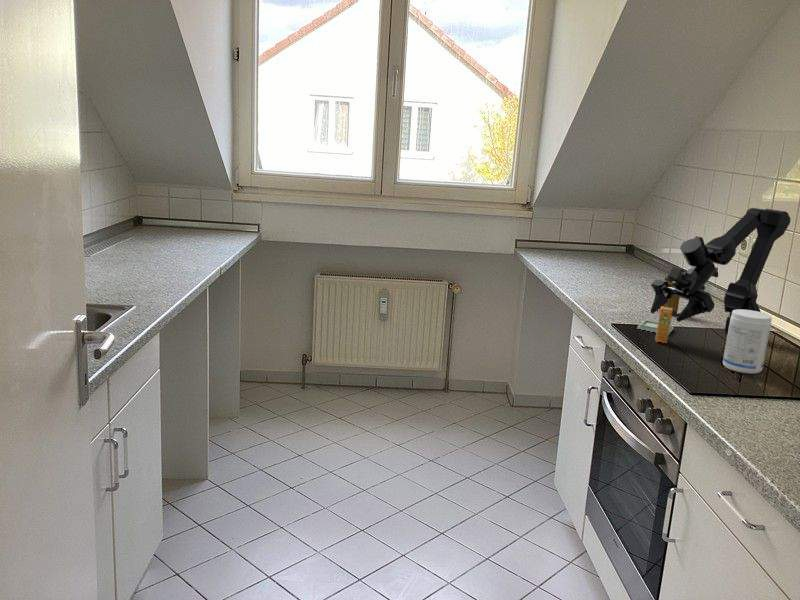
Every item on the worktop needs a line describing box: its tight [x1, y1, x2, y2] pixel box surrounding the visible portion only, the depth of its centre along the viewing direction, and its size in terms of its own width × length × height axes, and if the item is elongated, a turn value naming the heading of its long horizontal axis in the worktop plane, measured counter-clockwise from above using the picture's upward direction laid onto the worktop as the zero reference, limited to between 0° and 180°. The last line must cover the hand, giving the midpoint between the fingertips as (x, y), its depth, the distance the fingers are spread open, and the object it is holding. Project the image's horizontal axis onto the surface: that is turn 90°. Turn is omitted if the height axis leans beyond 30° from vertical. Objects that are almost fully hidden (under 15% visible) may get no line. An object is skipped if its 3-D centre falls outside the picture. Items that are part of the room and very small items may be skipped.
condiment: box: [658, 276, 681, 316], centre depth 251 cm, size 7×8×12 cm
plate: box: [636, 319, 675, 336], centre depth 227 cm, size 9×9×2 cm
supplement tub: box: [722, 309, 773, 375], centre depth 192 cm, size 10×10×15 cm
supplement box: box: [654, 306, 673, 344], centre depth 212 cm, size 3×3×10 cm
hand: (664, 316), depth 211 cm, fingers open, 9 cm apart
